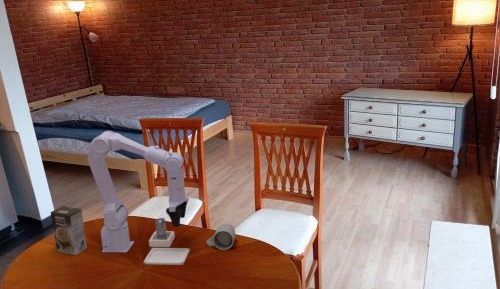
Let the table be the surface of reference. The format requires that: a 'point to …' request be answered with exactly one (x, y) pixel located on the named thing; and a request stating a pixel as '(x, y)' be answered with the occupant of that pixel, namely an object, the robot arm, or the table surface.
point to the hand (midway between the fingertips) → (179, 221)
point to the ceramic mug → (223, 237)
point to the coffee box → (68, 230)
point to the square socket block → (162, 243)
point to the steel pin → (161, 229)
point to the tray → (167, 256)
